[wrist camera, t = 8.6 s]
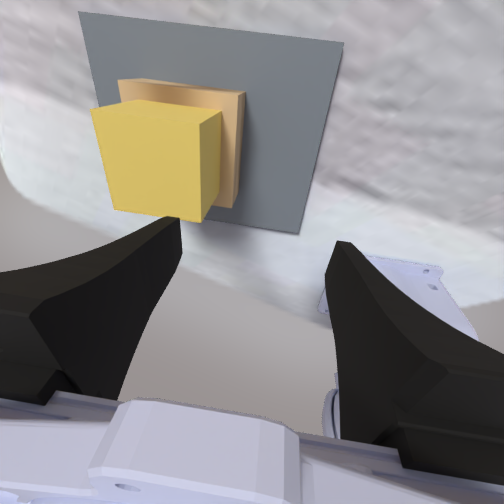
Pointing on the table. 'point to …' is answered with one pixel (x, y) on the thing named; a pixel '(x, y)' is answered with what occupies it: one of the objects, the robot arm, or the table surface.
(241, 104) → the oak block
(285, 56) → the board
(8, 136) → the table surface
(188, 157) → the yellow block
